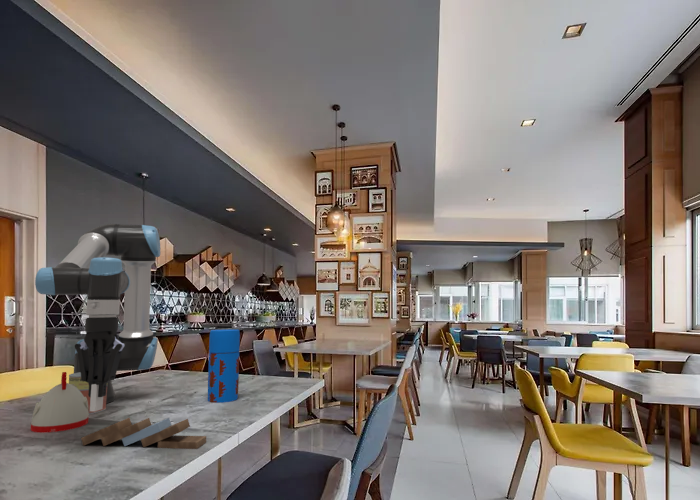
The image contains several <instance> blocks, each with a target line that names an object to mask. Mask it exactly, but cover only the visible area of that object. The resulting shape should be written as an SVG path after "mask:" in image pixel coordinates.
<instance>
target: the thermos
mask: <svg viewBox="0 0 700 500" xmlns="http://www.w3.org/2000/svg"><path fill="white" fill-rule="evenodd" d="M240 334H241V333H240V329H211V330H210V332H209V347H208V348H209V349H208V352H209V353H208V370H207V371H208V373H207V375H208V376H207V402H209V403H214V404H215V403H216V404H219V403H223V404H224V403H229V402H234V401H237V400H238V396H239V383H240V382H239V378H240V376H239V375H240V342H241V341H240V339H241V335H240Z"/></svg>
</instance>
